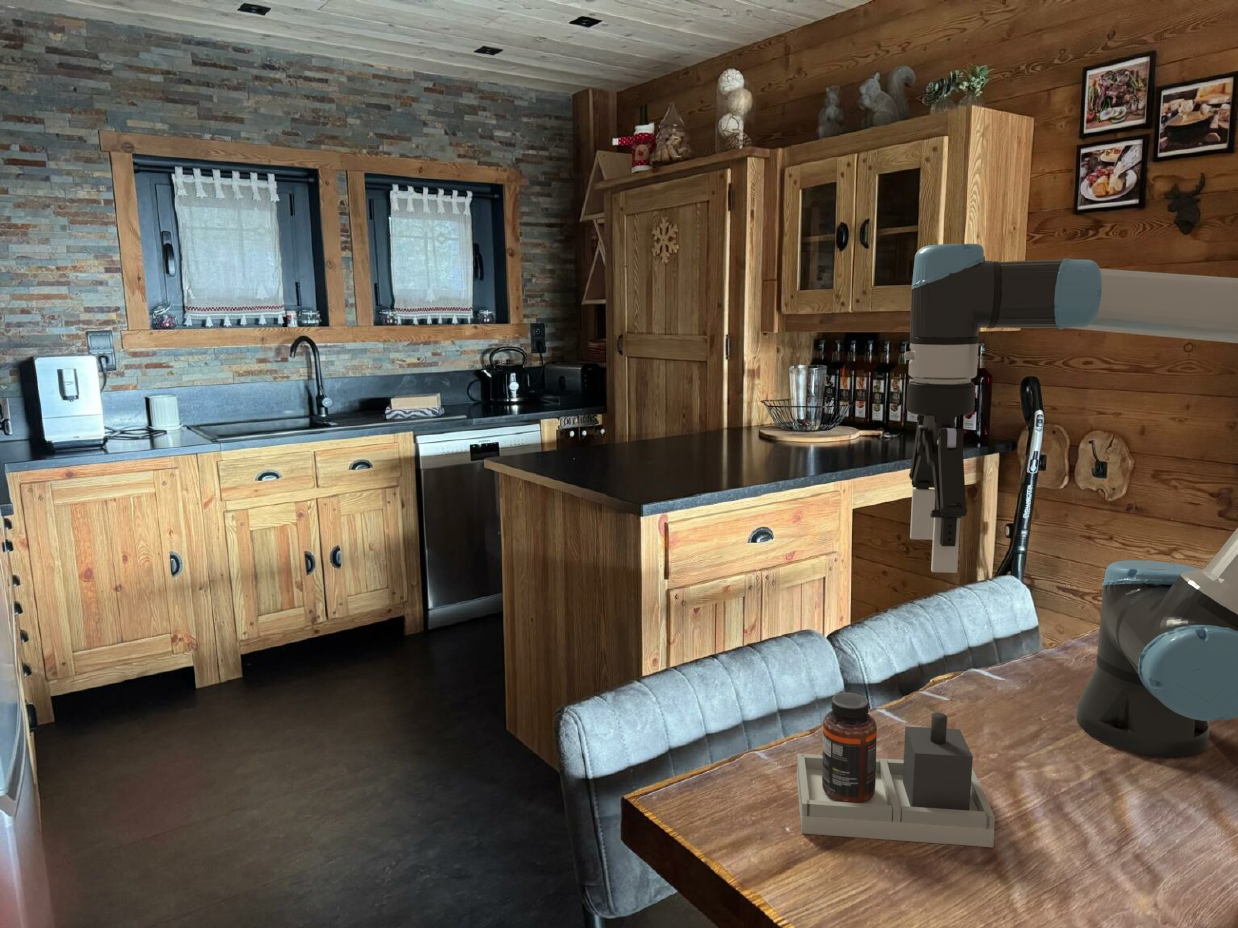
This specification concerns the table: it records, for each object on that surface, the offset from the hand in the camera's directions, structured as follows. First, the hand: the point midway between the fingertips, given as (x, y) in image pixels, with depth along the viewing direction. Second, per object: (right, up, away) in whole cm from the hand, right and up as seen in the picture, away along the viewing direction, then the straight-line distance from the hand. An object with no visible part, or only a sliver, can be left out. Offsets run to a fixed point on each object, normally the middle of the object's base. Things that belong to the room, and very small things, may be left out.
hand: (931, 554), depth 106 cm
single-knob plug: (-2, -27, -8) cm, 28 cm away
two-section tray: (-7, -29, -7) cm, 30 cm away
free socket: (-13, -27, -6) cm, 30 cm away
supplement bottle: (-12, -27, -6) cm, 30 cm away
